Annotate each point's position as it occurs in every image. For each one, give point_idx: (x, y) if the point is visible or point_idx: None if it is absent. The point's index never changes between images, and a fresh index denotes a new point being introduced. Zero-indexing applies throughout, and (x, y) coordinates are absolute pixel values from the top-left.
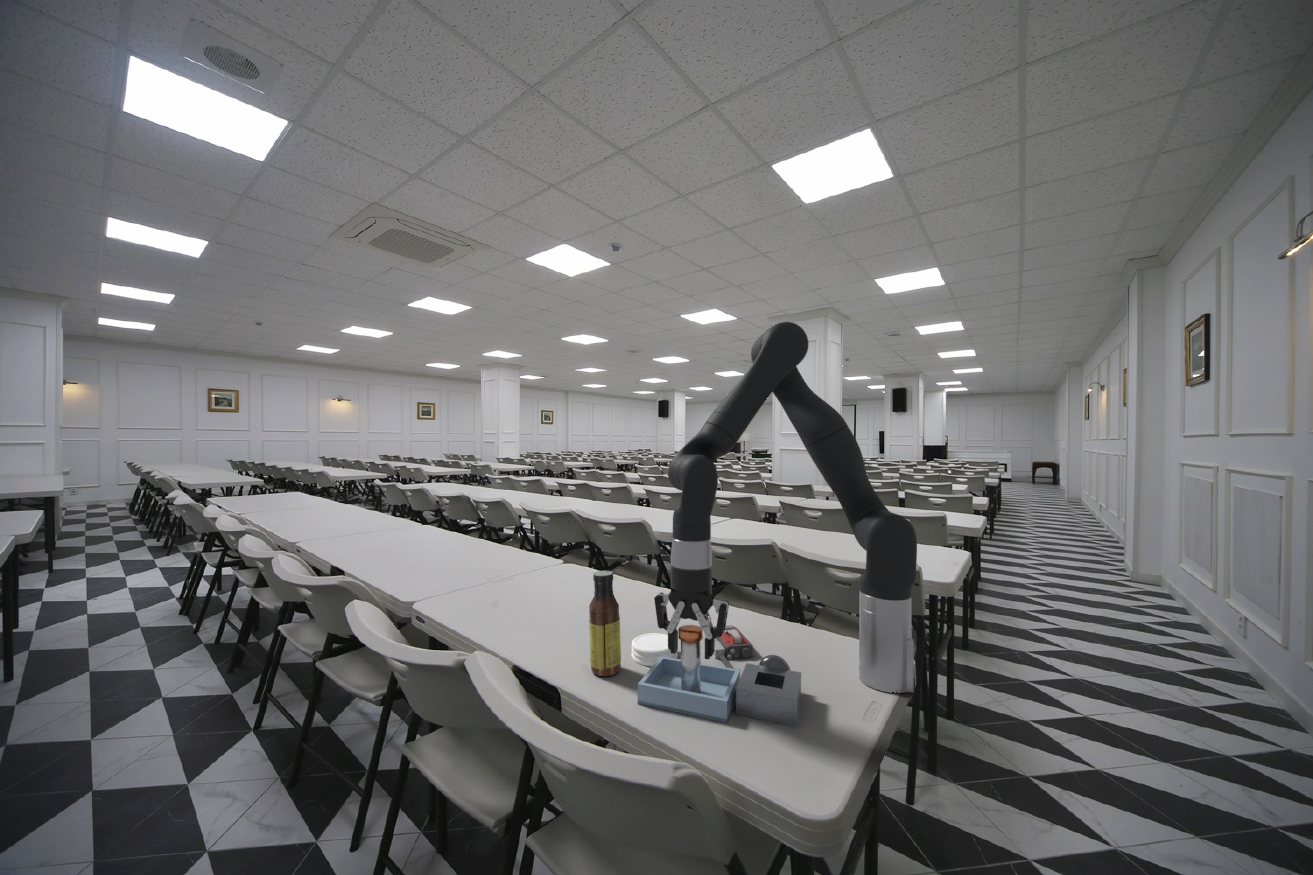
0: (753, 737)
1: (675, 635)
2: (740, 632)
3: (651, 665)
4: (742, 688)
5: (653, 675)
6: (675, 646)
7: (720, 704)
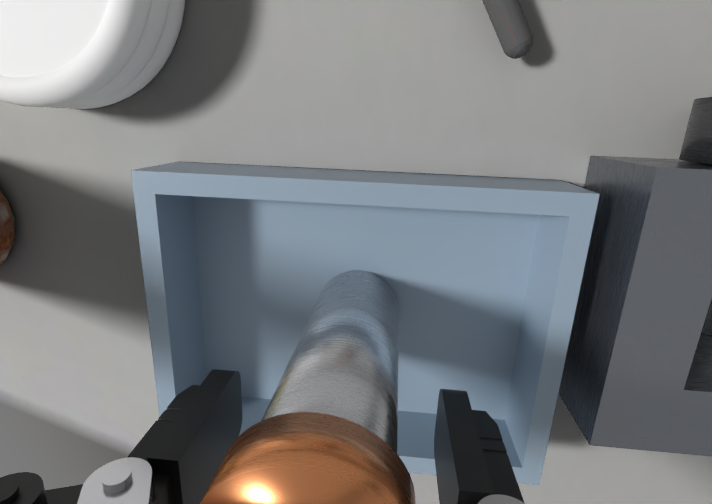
0: (607, 473)
1: (193, 498)
2: None
3: (106, 105)
4: (619, 443)
5: (180, 319)
6: (226, 434)
7: None
